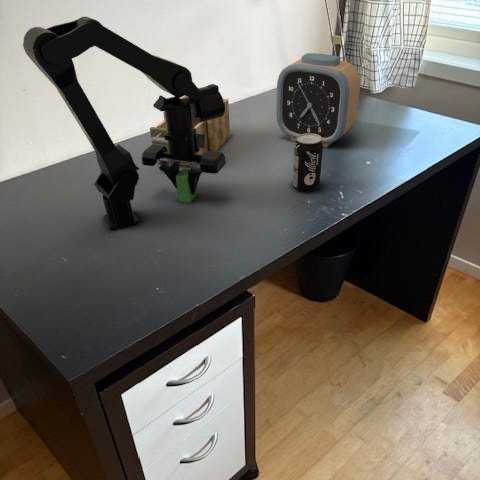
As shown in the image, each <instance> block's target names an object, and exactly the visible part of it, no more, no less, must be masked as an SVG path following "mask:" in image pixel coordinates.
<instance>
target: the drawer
mask: <svg viewBox="0 0 480 480" xmlns="http://www.w3.org/2000/svg"><path fill="white" fill-rule="evenodd" d="M192 126H193V128H195V130H196V133H200V134H205V142H204V148H200V151H199V152H196V153H195V155H205V153H206V152H207V151H208V150H209V139H208V126H207V121H204V122H197V121H196V120H195V119H193V118H192ZM149 132H150V133H149V134H150V138H151V139H150V141H151V145H161V146H165V147H166V148H167V151H168V152H170V151H169V144H168V140H165V135H166V134H167V129H166V122H165V120H164V119H163V120H162V121H161V122H159V123H158V124H157V125H156V126H150V128H149ZM157 162H158V163H160V161H159V160H157ZM180 165H185V166H191V164H190V163H182V162H180Z"/></svg>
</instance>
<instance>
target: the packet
mask: <svg viewBox="0 0 480 480" xmlns="http://www.w3.org/2000/svg"><path fill="white" fill-rule="evenodd" d="M190 169H191V168H190ZM190 169H189V168H182V169H181V170H180V172H179V173H178V174H177V175H176V183H177V189H176V190H178V191H177V197H178V202H180V203H181V202H182V203H189V204H190V203H192V201H193V200H194V199H195V198H196V197H197V195H198V193H197V191H196V192H195V194H194V195H192V193H191V189H190V183H189V177H188V171H189V170H190Z"/></svg>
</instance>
